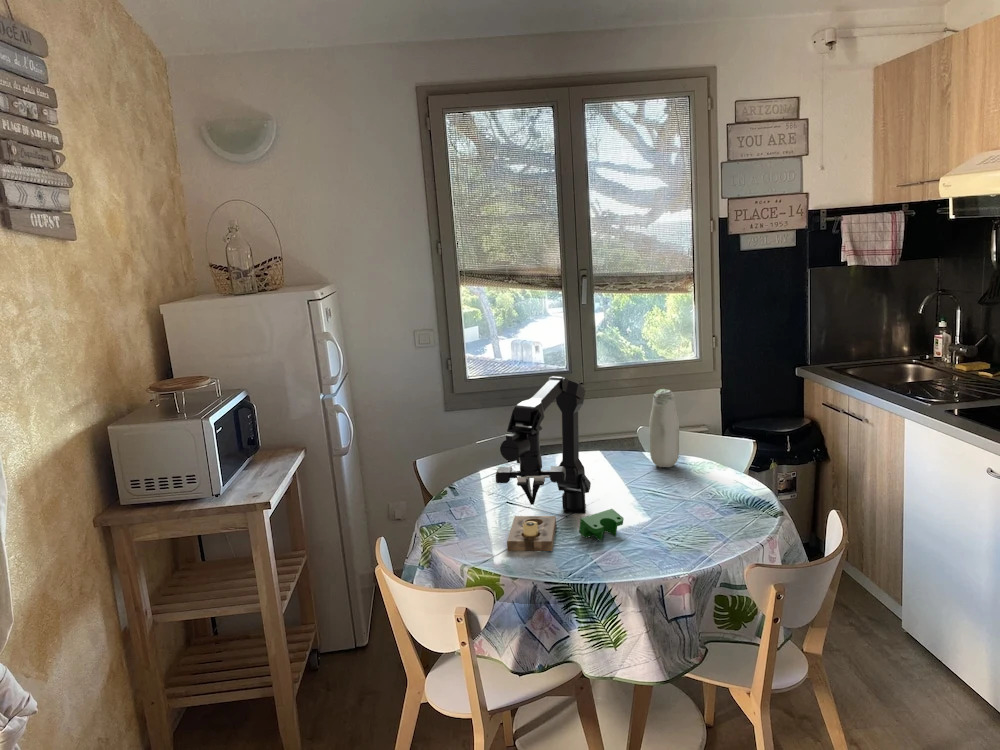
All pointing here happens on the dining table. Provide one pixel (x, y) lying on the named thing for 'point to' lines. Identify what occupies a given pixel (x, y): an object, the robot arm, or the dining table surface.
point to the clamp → (600, 524)
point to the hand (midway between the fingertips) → (532, 504)
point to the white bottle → (664, 429)
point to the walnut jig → (532, 544)
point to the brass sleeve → (530, 529)
